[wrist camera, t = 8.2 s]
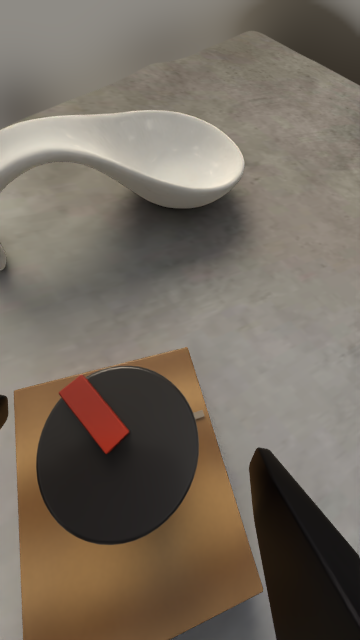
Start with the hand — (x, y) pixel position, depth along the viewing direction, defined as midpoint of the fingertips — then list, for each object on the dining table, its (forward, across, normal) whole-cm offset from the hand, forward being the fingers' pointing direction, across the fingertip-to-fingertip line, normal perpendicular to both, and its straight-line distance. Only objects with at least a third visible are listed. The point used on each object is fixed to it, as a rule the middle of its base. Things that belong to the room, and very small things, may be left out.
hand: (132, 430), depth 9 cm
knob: (+3, 0, +4) cm, 5 cm away
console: (+4, 0, +7) cm, 8 cm away
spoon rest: (+18, +6, -8) cm, 21 cm away
